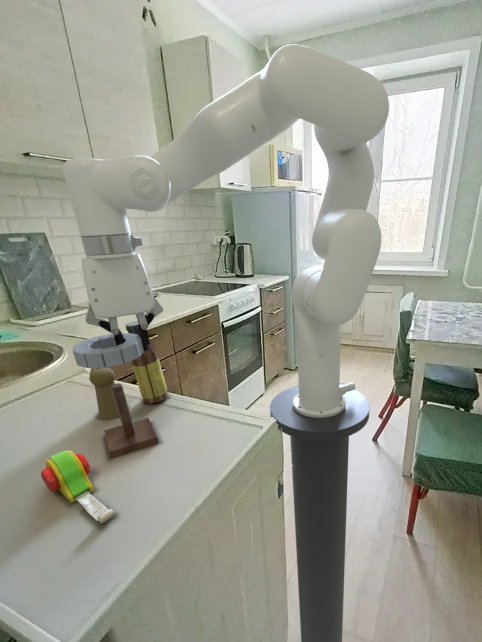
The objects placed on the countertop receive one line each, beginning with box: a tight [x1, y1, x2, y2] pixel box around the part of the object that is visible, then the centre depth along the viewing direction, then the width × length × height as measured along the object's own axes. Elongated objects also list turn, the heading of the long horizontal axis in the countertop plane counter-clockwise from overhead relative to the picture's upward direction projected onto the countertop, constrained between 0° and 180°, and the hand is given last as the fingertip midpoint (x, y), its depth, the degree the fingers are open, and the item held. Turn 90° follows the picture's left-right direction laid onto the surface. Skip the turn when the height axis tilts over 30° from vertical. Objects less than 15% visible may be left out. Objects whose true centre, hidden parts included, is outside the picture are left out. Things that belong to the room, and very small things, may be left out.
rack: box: [104, 383, 159, 459], centre depth 70 cm, size 9×9×12 cm
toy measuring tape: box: [40, 449, 115, 525], centre depth 57 cm, size 6×19×7 cm, turn 51°
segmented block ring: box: [72, 332, 144, 369], centre depth 64 cm, size 11×11×3 cm
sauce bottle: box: [124, 320, 169, 404], centre depth 85 cm, size 7×6×20 cm
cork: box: [88, 367, 120, 420], centre depth 82 cm, size 6×6×11 cm
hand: (134, 350), depth 66 cm, fingers closed on segmented block ring, 3 cm apart
